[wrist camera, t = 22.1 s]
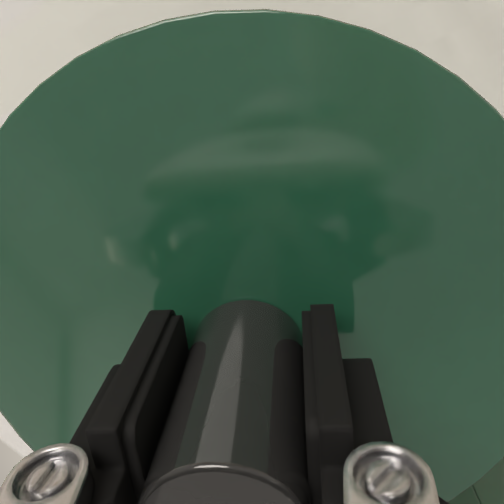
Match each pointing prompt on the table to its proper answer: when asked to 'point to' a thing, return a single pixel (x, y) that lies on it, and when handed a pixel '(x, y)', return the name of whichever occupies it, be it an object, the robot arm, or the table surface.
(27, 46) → the table surface
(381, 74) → the pot lid
